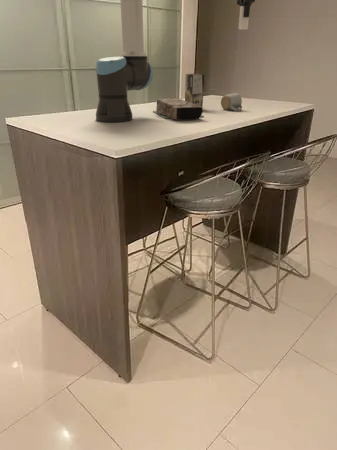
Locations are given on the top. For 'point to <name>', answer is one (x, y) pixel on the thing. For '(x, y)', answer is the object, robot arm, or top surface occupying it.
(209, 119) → the top surface
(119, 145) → the top surface
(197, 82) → the coffee box
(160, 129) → the top surface
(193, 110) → the stone block
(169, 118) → the rubber mat
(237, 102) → the ceramic mug
